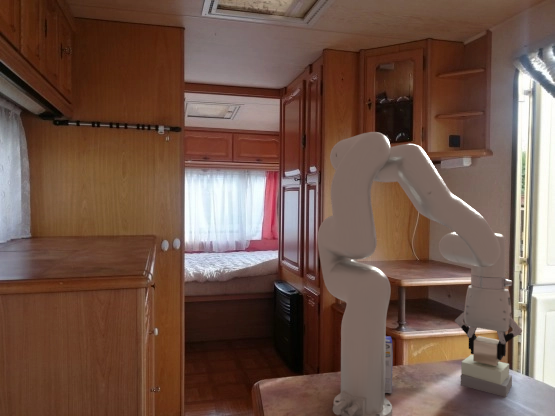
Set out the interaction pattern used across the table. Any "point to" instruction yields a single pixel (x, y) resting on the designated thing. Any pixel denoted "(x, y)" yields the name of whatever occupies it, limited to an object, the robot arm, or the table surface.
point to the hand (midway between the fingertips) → (486, 354)
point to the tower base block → (487, 385)
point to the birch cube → (486, 350)
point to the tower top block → (485, 370)
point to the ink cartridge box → (388, 365)
